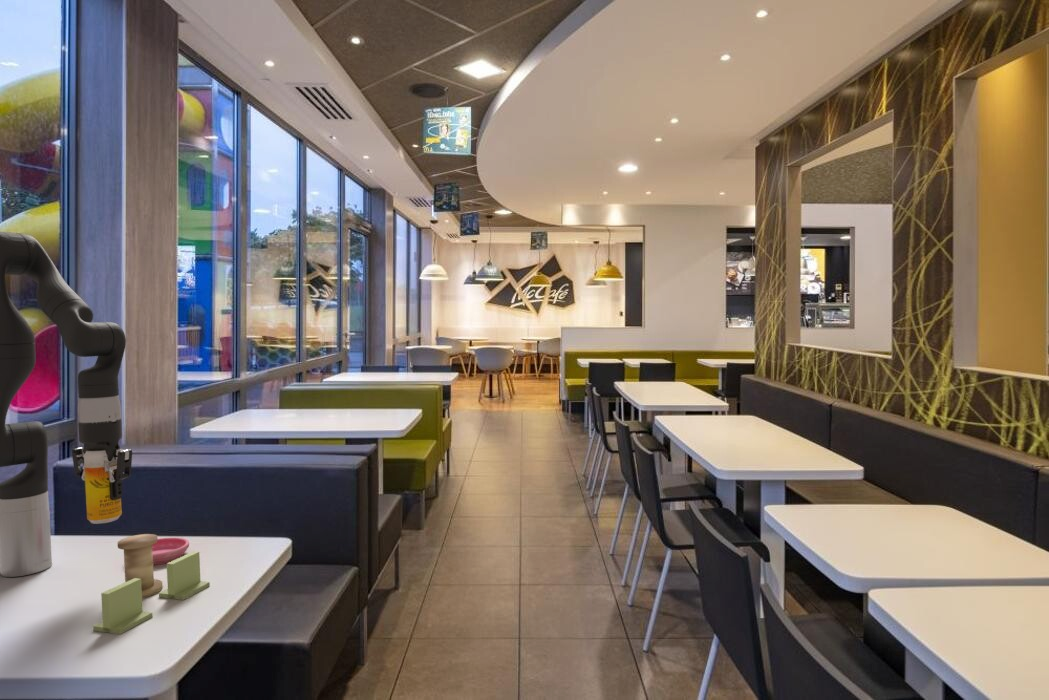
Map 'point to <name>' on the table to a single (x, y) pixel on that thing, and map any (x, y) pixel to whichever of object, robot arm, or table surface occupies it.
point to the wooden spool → (140, 562)
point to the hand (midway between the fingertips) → (104, 497)
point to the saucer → (168, 549)
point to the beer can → (99, 489)
